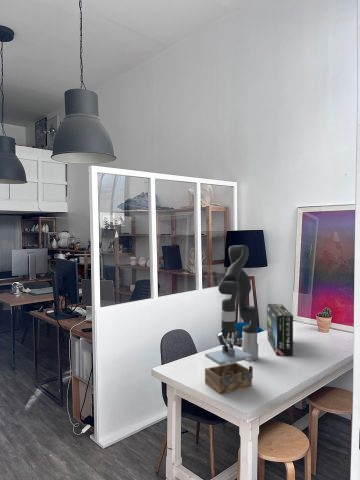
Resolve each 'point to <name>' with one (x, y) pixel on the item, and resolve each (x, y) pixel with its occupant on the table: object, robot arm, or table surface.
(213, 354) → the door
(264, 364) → the table surface
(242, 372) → the brown wooden open box
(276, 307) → the router box
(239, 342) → the disk drive
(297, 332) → the table surface
